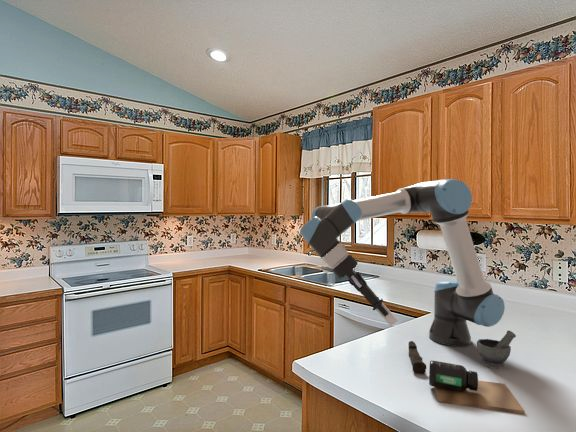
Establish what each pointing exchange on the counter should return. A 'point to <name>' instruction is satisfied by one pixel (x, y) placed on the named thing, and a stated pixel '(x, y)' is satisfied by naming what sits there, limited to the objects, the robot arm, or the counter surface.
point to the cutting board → (482, 397)
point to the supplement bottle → (452, 377)
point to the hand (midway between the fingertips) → (394, 323)
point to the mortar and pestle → (495, 350)
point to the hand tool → (416, 359)
